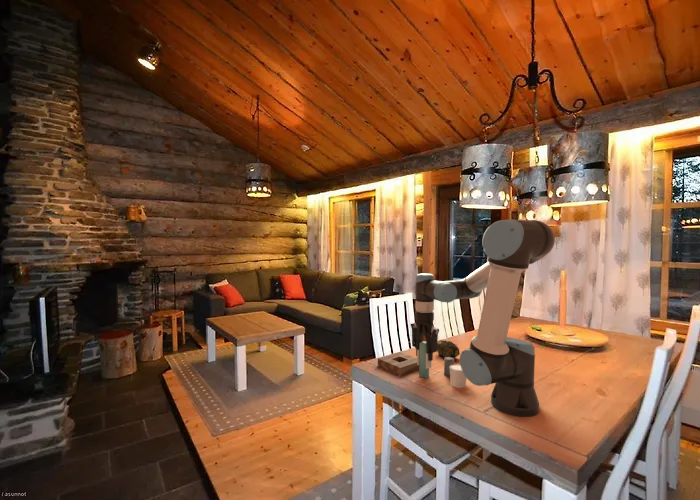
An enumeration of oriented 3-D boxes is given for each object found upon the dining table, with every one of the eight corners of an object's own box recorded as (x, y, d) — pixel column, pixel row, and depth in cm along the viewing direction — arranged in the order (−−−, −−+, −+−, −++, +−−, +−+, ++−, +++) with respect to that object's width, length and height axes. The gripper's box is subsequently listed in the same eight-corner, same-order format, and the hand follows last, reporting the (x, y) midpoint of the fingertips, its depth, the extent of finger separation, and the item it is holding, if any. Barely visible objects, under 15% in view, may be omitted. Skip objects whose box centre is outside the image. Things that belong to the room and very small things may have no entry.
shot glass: (459, 390, 132) (459, 372, 132) (445, 383, 138) (445, 366, 138) (471, 385, 136) (471, 368, 136) (457, 379, 142) (457, 362, 141)
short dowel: (455, 375, 146) (456, 359, 146) (450, 377, 144) (450, 361, 143) (448, 372, 149) (448, 356, 149) (442, 374, 147) (442, 358, 146)
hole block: (422, 368, 154) (422, 360, 154) (400, 376, 145) (400, 367, 145) (399, 359, 165) (399, 352, 165) (377, 366, 156) (377, 358, 156)
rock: (463, 340, 167) (454, 340, 162) (464, 360, 165) (455, 360, 160) (442, 340, 176) (432, 339, 171) (442, 358, 174) (433, 359, 169)
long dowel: (431, 376, 145) (431, 343, 145) (424, 378, 143) (425, 344, 142) (423, 373, 148) (423, 340, 148) (417, 375, 146) (417, 342, 145)
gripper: (447, 313, 140) (446, 370, 141) (415, 306, 153) (414, 358, 154) (435, 315, 135) (434, 374, 136) (403, 308, 149) (403, 362, 150)
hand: (424, 366), depth 145 cm, fingers closed on long dowel, 4 cm apart
